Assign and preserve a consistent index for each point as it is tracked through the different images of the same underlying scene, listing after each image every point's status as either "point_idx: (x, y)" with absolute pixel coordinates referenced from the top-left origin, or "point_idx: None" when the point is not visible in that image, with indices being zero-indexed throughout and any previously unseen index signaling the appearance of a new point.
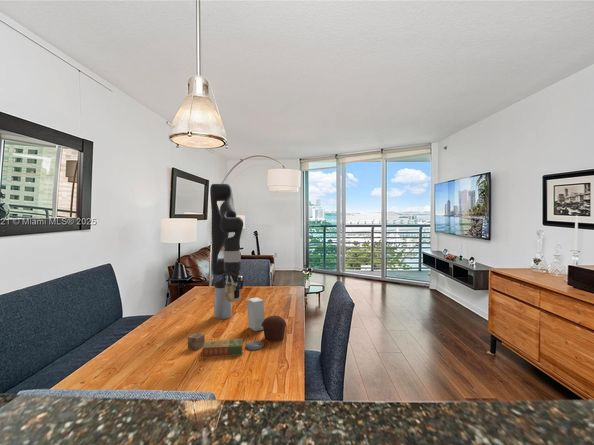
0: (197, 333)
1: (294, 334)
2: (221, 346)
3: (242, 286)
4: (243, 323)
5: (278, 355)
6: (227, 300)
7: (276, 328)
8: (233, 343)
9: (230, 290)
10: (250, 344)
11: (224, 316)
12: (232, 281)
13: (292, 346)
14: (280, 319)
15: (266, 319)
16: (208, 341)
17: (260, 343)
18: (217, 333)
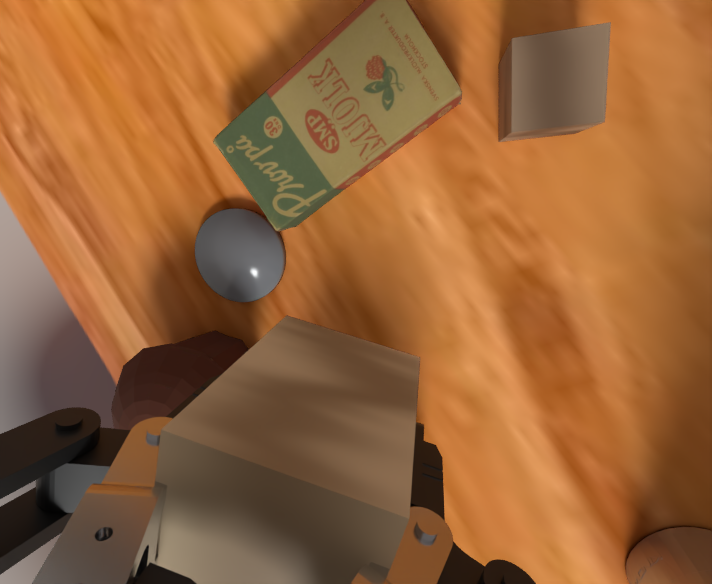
0: (579, 122)
1: None
2: (303, 70)
3: (19, 506)
4: (481, 499)
5: (98, 215)
6: (370, 345)
7: (131, 359)
8: (270, 144)
9: (244, 396)
10: (254, 248)
11: (657, 549)
12: (78, 570)
13: (104, 320)
14: (115, 426)
15: (181, 401)
16: (430, 88)
17: (220, 279)
18: (542, 325)
